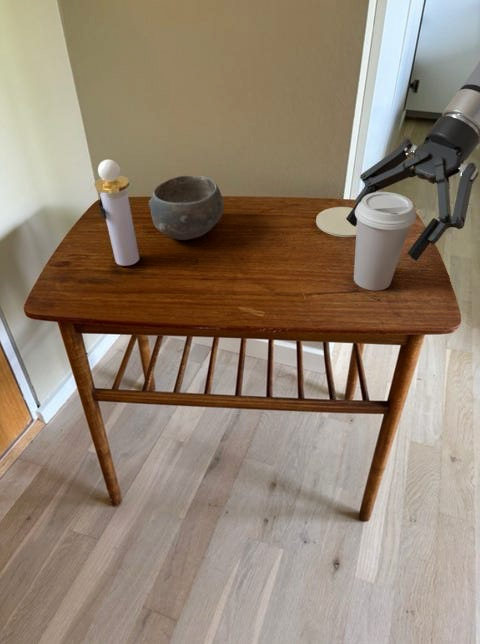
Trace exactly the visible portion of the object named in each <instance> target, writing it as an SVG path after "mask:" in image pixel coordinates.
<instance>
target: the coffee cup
mask: <svg viewBox="0 0 480 644" xmlns="http://www.w3.org/2000/svg"><path fill="white" fill-rule="evenodd" d="M416 215H417V214H416V211H415V208H414V203H413V202H412V200H411V199H409V198H408V197H406V196H404V195H402V194H399V193H395V192H390V191H376V192H375V193H370V194H368V195H366V196H364V197H363V199H362V201H361V202H360V203H359V204H358V206H357V207H356V209H355V216H356V218H357V231H356V237H355V248H354V265H353V282H354V283H355V284H356V285H357V286H358V287H360V288H362V289H364V290H368V291H375V292H376V291H378V292H379V291H383V290H385V289H388V288H389V287H390V286H391V284H392V281H393V278H394V274H395V272H396V269H397V265H398V263H399V260H400V257H401V254H402V251H403V248H404V245H405V242H406V239H407V236H408V234H409V231H410V229H411V228H410V227H411V226H412V225H414V223H415V222H416V219H417V217H416Z"/></svg>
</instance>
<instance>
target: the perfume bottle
mask: <svg viewBox="0 0 480 644" xmlns="http://www.w3.org/2000/svg"><path fill="white" fill-rule="evenodd" d="M97 173H98V176H99V178H98V179H97V180H95V181H94V184H93V185H94V190H95V191H97V192H98V193H100V195H99V201H98V207H99V212H100V215H101V218H103V219H104V222H105V223H106V226H107V230H108V235H109V240H110V243H111V249H112V252H113V257H114V261H115V263H116V264H117V265H119V266H123V267H127V266H131V265H134V264H136V263H138V261H139V260H140V253H139V247H138V242H137V235H136V231H135V225H134V220H133V215H132V210H131V205H130V199H129V195H128V190H127V188H129V186H130V180H129V178H128V177H127V176H124V175H121V167H120V165H119V164H118V162H116V161H115V160H113V159H111V158H110V159H104V160H102V161H101V162H99V164H98V166H97Z"/></svg>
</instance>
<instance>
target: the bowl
mask: <svg viewBox="0 0 480 644" xmlns="http://www.w3.org/2000/svg"><path fill="white" fill-rule="evenodd" d="M220 190H221V189H220V188H219V186H218V184H217V183H216V181H215V180H213V179H212V178H210V177H207V176H203V175H193V174H188V175H180V176H175V177H172V178H169V179H167V180H165V181H163V182H161V183H159V185H157V186H156V187H155V188H154V190H153V191H152V195H151V197H150V199H149V200H148V206H149V209H150V215H151V216H150V217H151V220H152V223H153V226H154V227H155V229H157V230H158V231H159V232H161V234H163V235H164V236H166V237H168V238H171V239H174V240H177V241H178V240H179V241H189V240H192V239H196V238H201V237H202V236H204V235H205V234H207V233H208V232H210V231H211V230H212V229H213V228H214V227H215V226H216V224H217V223H218V222H219V221H220V219H221V218H222V216H223V213H224V199H225V198H223V196H222V193H221V191H220Z"/></svg>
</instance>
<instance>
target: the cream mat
mask: <svg viewBox="0 0 480 644" xmlns="http://www.w3.org/2000/svg"><path fill="white" fill-rule="evenodd" d="M353 208H354V207H347V206H335V207H329V208H325V209H324V210H322V211H321V212H319V213H318V214H317V216H316V219H315V223H316V226H317V227H318V229H319V230H321V231H322V232H324V233H325V234H328V235H331V236H334V237H339V238H348V239H349V238H356V231H357V225H356V226H353V225H352V224H350V223H349V222H348V221H347V220H346V218H347V216H348V215H349V214H350V212H351V211H352V209H353Z"/></svg>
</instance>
